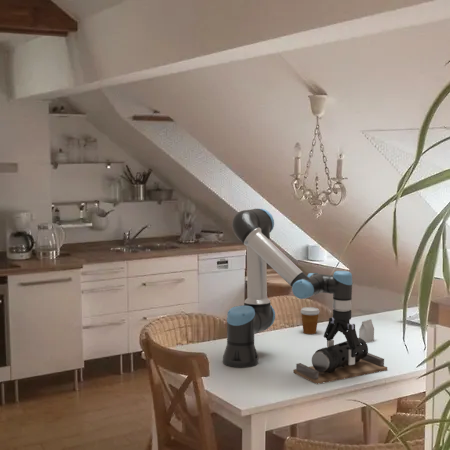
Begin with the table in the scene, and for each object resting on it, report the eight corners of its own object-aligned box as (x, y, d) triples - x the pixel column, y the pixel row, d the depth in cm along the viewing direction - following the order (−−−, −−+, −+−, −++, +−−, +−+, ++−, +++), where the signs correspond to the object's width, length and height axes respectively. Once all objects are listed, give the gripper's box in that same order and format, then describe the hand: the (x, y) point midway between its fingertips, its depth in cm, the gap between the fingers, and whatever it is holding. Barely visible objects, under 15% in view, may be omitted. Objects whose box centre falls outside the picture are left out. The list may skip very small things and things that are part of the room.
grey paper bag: (373, 340, 328) (374, 320, 327) (365, 343, 323) (366, 322, 322) (367, 338, 331) (367, 318, 330) (359, 341, 326) (359, 320, 325)
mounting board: (317, 384, 266) (317, 373, 265) (293, 372, 280) (293, 362, 279) (387, 370, 283) (387, 360, 283) (361, 359, 297) (361, 350, 297)
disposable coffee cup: (297, 334, 339) (298, 310, 337) (302, 329, 347) (303, 306, 346) (316, 336, 335) (317, 311, 334) (321, 331, 344) (321, 307, 343)
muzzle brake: (368, 363, 288) (368, 339, 287) (329, 378, 268) (329, 352, 267) (349, 358, 295) (349, 335, 294) (309, 373, 275) (309, 348, 274)
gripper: (369, 314, 270) (368, 367, 272) (330, 302, 291) (329, 350, 294) (355, 316, 266) (353, 369, 268) (316, 304, 288) (315, 353, 290)
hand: (340, 360), depth 281 cm, fingers open, 13 cm apart
